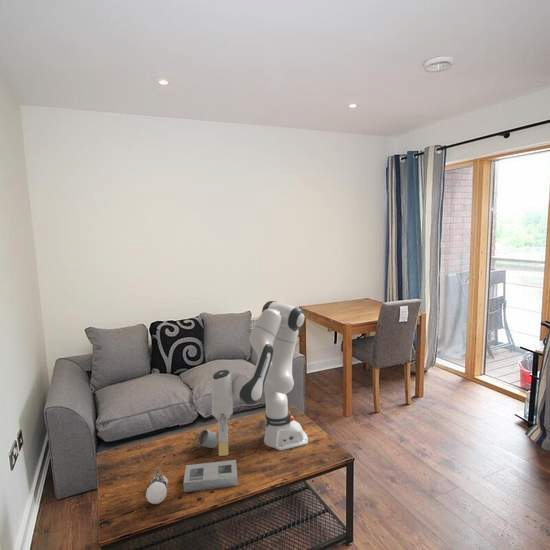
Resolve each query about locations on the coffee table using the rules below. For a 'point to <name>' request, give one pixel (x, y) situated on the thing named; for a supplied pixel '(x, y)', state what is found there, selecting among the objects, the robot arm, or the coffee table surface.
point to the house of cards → (160, 479)
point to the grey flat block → (210, 475)
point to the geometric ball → (156, 492)
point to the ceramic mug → (207, 439)
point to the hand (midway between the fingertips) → (223, 440)
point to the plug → (222, 446)
